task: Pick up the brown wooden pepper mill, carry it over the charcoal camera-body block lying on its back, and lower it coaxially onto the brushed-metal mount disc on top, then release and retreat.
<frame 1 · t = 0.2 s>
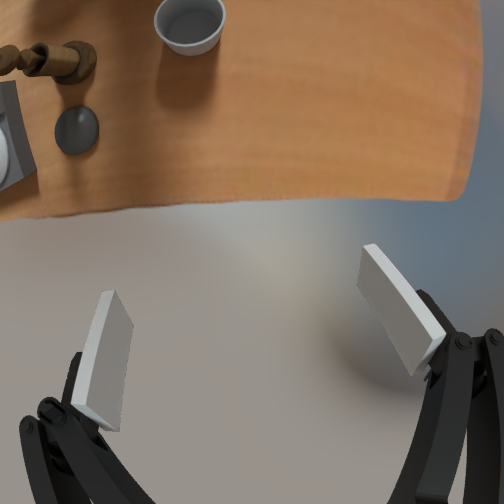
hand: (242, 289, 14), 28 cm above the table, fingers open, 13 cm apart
dark grey dome: (77, 129, 31), on the table
cup: (194, 24, 26), on the table
brown wooden pepper mill: (76, 63, 25), on the table
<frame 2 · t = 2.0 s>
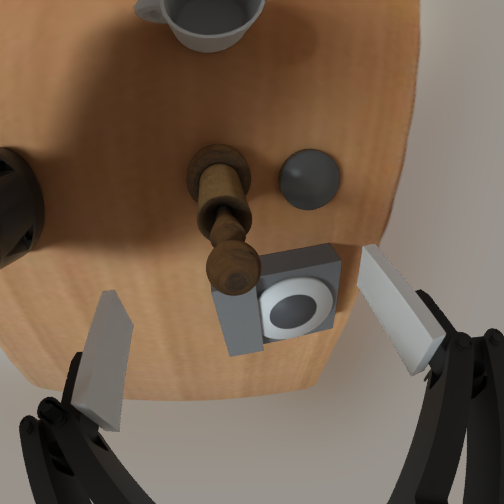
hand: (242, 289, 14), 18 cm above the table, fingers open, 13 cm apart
dark grey dome: (308, 178, 31), on the table
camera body: (274, 290, 39), on the table
cup: (195, 21, 19), on the table
brown wooden pepper mill: (217, 173, 29), on the table
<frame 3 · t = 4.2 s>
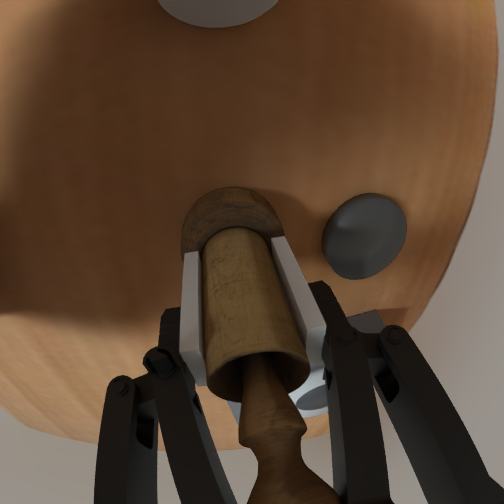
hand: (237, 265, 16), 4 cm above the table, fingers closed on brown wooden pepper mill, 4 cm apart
dark grey dome: (362, 234, 21), on the table
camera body: (300, 364, 29), on the table
brown wooden pepper mill: (230, 231, 19), on the table, touching gripper
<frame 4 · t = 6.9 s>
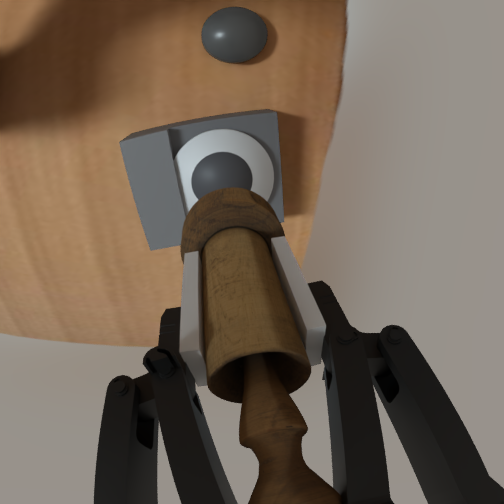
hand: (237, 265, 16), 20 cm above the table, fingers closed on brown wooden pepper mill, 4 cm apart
dark grey dome: (233, 35, 23), on the table
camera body: (207, 170, 32), on the table
brown wooden pepper mill: (230, 231, 19), point 16 cm above the table, touching gripper
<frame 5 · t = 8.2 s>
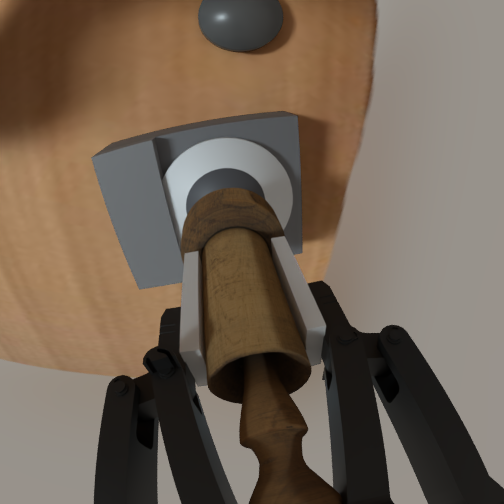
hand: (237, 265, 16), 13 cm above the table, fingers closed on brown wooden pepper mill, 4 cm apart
dark grey dome: (239, 17, 17), on the table
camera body: (206, 188, 26), on the table
brown wooden pepper mill: (230, 232, 19), point 9 cm above the table, touching gripper
when the fingers open (10 cm above the table, at t = 9.4 s): brown wooden pepper mill drops 1 cm, resting on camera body.
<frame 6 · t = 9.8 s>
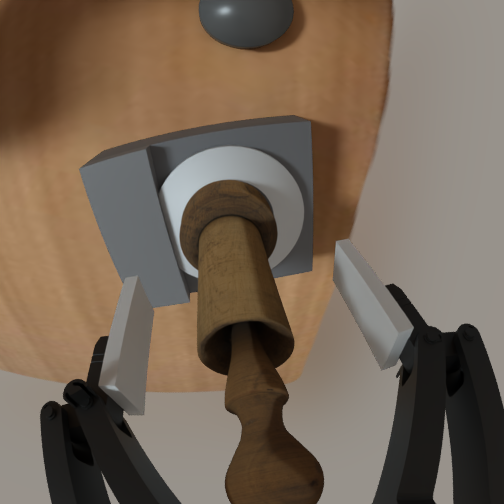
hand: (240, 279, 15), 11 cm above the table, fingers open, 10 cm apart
dark grey dome: (245, 11, 15), on the table
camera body: (208, 200, 24), on the table
brown wooden pepper mill: (226, 221, 20), point 5 cm above the table, touching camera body
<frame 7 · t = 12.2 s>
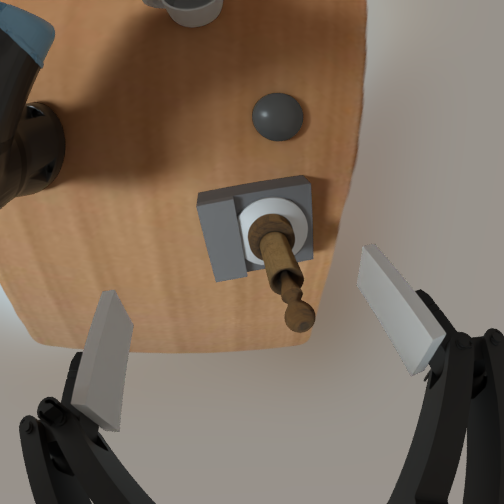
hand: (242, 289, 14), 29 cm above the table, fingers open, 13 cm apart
dark grey dome: (276, 116, 36), on the table
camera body: (256, 221, 44), on the table
cup: (185, 7, 25), on the table
brown wooden pepper mill: (269, 233, 41), point 5 cm above the table, touching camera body
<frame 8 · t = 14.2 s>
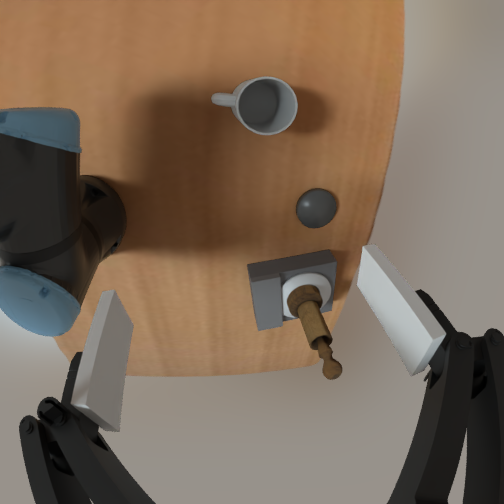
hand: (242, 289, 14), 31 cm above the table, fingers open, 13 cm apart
dark grey dome: (315, 207, 47), on the table
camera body: (290, 283, 56), on the table
cup: (245, 100, 36), on the table
brown wooden pepper mill: (302, 297, 52), point 5 cm above the table, touching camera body
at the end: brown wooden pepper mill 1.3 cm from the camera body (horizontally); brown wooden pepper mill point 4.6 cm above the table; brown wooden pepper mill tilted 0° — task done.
